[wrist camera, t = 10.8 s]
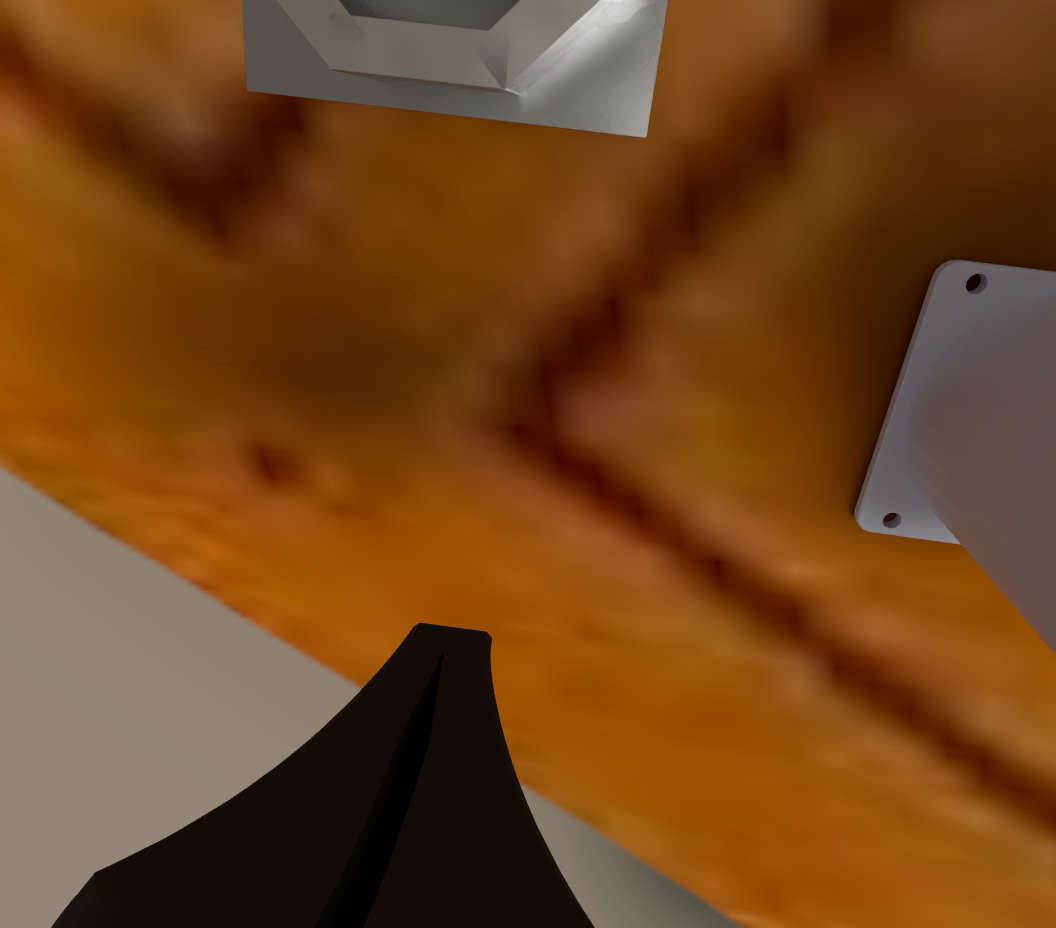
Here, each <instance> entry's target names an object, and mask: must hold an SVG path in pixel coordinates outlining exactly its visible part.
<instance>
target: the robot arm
mask: <svg viewBox="0 0 1056 928" xmlns="http://www.w3.org/2000/svg"><path fill="white" fill-rule="evenodd" d="M974 274H979V275H980V277H981V281H980V284H979V285H978V287H977V288H975V289H974V290H972V291H967V289H966V282H967V281H968V279H969V278H970V277H971V276H973V275H974ZM889 513H897V514H896V517H895V518H894V519H893V520H891V521H890V522H884V521H883V518H884V517H885V515H887V514H889ZM854 517H855V520H856V522H857V524H858V525H859V526H860V527H861V528H862V529H863V530H865V531H868V532H874V533H881V534H888V535H896V536H903V537H910V538H917V539H924V540H932V541H939V542H946V543H953V544H960V545H962V546H963V547H964V549H965V550H966V551H967V552H968V553H969V554H970V556H971V557H972V558H973V559H974V560H975V561H976V562H977V564H978V565H979V566H980V567H981V568H982V569H983V571H984V572H985V573H986V574H987V575H988V576H989V578H990V579H991V580H992V581H993V582H994V583H995V585H996V586H997V587H998V588H999V589H1000V590H1001V592H1002V593H1003V594H1004V595H1005V596H1006V597H1007V599H1008V600H1009V601H1010V602H1011V603H1012V604H1013V606H1014V607H1015V608H1016V609H1017V610H1018V611H1019V613H1020V614H1021V615H1022V616H1023V617H1024V618H1025V620H1026V621H1027V622H1028V623H1029V624H1030V625H1031V627H1032V628H1033V629H1034V630H1035V631H1036V632H1037V633H1038V635H1039V636H1040V637H1041V638H1042V639H1043V640H1044V642H1045V643H1046V644H1047V645H1048V646H1049V647H1050V649H1051V650H1052V651H1053V652H1054V653H1055V654H1056V272H1054V271H1046V270H1038V269H1030V268H1022V267H1014V266H1005V265H997V264H989V263H981V262H973V261H965V260H950V261H947V262H945V263H943V264H941V265H940V266H939V267H938V268H937V269H936V270H935V272H934V274H933V276H932V278H931V281H930V284H929V287H928V290H927V293H926V296H925V299H924V302H923V305H922V309H921V312H920V315H919V318H918V321H917V324H916V327H915V330H914V333H913V336H912V339H911V342H910V345H909V348H908V351H907V354H906V357H905V360H904V363H903V366H902V369H901V372H900V375H899V378H898V381H897V384H896V387H895V390H894V393H893V396H892V399H891V402H890V405H889V408H888V411H887V414H886V417H885V420H884V423H883V426H882V429H881V432H880V435H879V438H878V441H877V444H876V447H875V450H874V453H873V456H872V459H871V462H870V465H869V468H868V471H867V474H866V477H865V480H864V483H863V486H862V489H861V492H860V495H859V498H858V501H857V504H856V507H855V511H854ZM491 643H492V637H491V636H490V635H489V634H488V633H487V632H485V631H477V630H470V629H463V628H455V627H448V626H440V625H433V624H426V623H419V624H417V625H416V626H414V627H413V628H412V630H411V631H410V633H409V634H408V635H407V637H406V638H405V639H404V641H403V642H402V643H401V645H400V646H399V647H398V648H397V650H396V651H395V652H394V653H393V655H392V656H391V657H390V658H389V659H388V661H387V662H386V663H385V664H384V665H383V666H382V668H381V669H380V670H379V671H378V672H377V673H376V674H375V675H374V676H373V678H372V679H371V680H370V681H369V682H368V683H367V684H366V685H365V686H364V687H363V688H362V690H361V691H360V692H359V693H358V694H357V695H356V696H355V697H354V698H353V699H352V700H351V701H350V702H349V703H348V704H347V705H346V706H345V707H344V708H343V709H342V710H341V711H340V712H339V713H338V714H337V715H336V716H334V717H333V718H332V719H331V720H330V721H329V722H328V723H327V724H326V725H325V726H324V727H323V728H322V729H321V730H320V731H319V732H317V733H316V734H315V735H314V736H313V737H312V738H311V739H310V740H308V741H307V742H306V743H305V744H304V745H302V746H301V747H300V748H299V749H298V750H296V751H295V752H294V753H293V754H291V755H290V756H289V757H288V758H286V759H285V760H284V761H283V762H281V763H280V764H279V765H277V766H276V767H275V768H273V769H272V770H271V771H269V772H268V773H267V774H265V775H264V776H262V777H261V778H260V779H258V780H257V781H256V782H254V783H253V784H252V785H250V786H249V787H248V788H246V789H244V790H243V791H242V792H240V793H239V794H237V795H236V796H234V797H233V798H231V799H230V800H228V801H227V802H225V803H223V804H222V805H220V806H218V807H217V808H215V809H213V810H212V811H210V812H209V813H207V814H205V815H204V816H202V817H201V818H199V819H197V820H196V821H194V822H192V823H190V824H189V825H187V826H185V827H184V828H182V829H180V830H179V831H177V832H175V833H173V834H172V835H170V836H168V837H166V838H164V839H162V840H161V841H159V842H157V843H155V844H153V845H151V846H149V847H146V848H144V849H142V850H141V851H138V852H136V853H135V854H133V855H130V856H128V857H126V858H124V859H123V860H120V861H118V862H116V863H114V864H112V865H110V866H108V867H106V868H104V869H102V870H99V871H97V872H95V873H94V875H93V876H92V877H91V878H90V879H89V881H88V882H87V883H86V884H85V886H84V887H83V888H82V889H81V891H80V892H79V893H78V894H77V895H76V896H75V897H74V899H73V900H72V901H71V902H70V903H69V905H68V906H67V907H66V908H65V910H64V911H63V912H62V914H61V915H60V916H59V918H58V919H57V920H56V921H55V923H54V924H53V926H52V928H594V926H593V924H592V923H591V921H590V920H589V918H588V917H587V915H586V914H585V912H584V910H583V909H582V907H581V906H580V904H579V902H578V901H577V899H576V898H575V896H574V894H573V892H572V891H571V889H570V887H569V886H568V884H567V882H566V880H565V879H564V877H563V875H562V874H561V872H560V870H559V868H558V866H557V864H556V862H555V860H554V858H553V856H552V854H551V852H550V850H549V848H548V847H547V844H546V843H545V841H544V839H543V837H542V835H541V833H540V831H539V829H538V827H537V825H536V822H535V820H534V818H533V815H532V813H531V811H530V808H529V806H528V804H527V801H526V799H525V796H524V794H523V791H522V789H521V786H520V784H519V781H518V778H517V775H516V773H515V770H514V767H513V764H512V761H511V758H510V754H509V751H508V748H507V744H506V741H505V738H504V734H503V730H502V726H501V722H500V718H499V713H498V709H497V704H496V699H495V694H494V688H493V682H492V673H491V661H490V652H491Z"/></svg>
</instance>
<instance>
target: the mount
mask: <svg viewBox="0 0 1056 928" xmlns="http://www.w3.org/2000/svg"><path fill="white" fill-rule="evenodd" d="M667 4H668V0H243V16H244V37H245V58H246V79H247V91H253V92H262V93H270V94H279V95H287V96H296V97H304V98H313V99H321V100H330V101H338V102H347V103H355V104H364V105H372V106H381V107H389V108H398V109H406V110H415V111H423V112H432V113H440V114H449V115H457V116H466V117H474V118H483V119H491V120H500V121H508V122H517V123H525V124H534V125H542V126H551V127H559V128H568V129H576V130H585V131H593V132H602V133H610V134H619V135H627V136H636V137H645V138H646V136H647V129H648V123H649V117H650V111H651V104H652V98H653V92H654V85H655V79H656V73H657V67H658V60H659V54H660V48H661V41H662V35H663V29H664V23H665V16H666V10H667Z"/></svg>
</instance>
